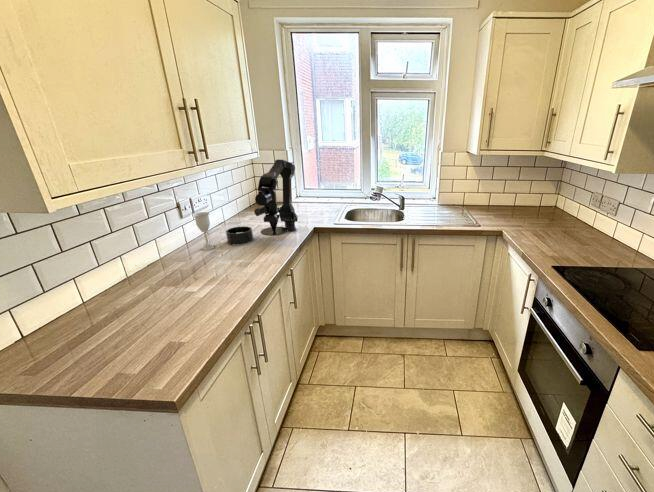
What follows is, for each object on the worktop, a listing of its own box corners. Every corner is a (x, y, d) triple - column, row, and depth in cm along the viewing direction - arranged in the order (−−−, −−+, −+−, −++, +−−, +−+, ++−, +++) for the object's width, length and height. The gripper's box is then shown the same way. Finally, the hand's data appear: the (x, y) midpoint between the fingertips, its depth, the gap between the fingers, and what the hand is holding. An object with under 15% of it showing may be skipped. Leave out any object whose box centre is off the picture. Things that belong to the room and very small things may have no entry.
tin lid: (263, 229, 171) (261, 218, 169) (289, 227, 174) (287, 217, 171) (259, 237, 159) (257, 225, 157) (286, 236, 161) (285, 224, 159)
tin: (231, 237, 175) (229, 226, 173) (255, 236, 178) (253, 225, 175) (225, 246, 164) (223, 234, 161) (251, 244, 166) (249, 233, 164)
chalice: (209, 251, 157) (201, 216, 150) (197, 250, 158) (189, 215, 151) (219, 246, 164) (212, 212, 157) (207, 244, 165) (200, 211, 158)
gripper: (257, 197, 167) (261, 225, 173) (250, 206, 150) (255, 236, 156) (279, 196, 169) (282, 224, 175) (274, 205, 152) (278, 235, 158)
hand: (274, 230), depth 166 cm, fingers closed on tin lid, 2 cm apart
